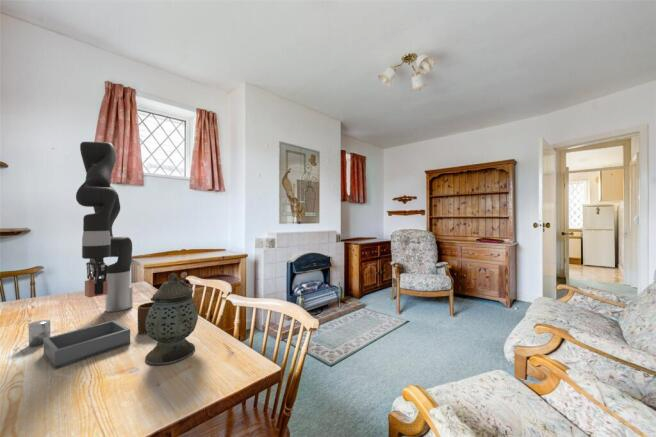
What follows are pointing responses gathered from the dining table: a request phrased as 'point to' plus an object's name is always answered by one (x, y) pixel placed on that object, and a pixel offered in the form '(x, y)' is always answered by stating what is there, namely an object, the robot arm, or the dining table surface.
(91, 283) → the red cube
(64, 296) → the dining table surface
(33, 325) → the steel cylinder
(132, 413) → the dining table surface
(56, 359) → the tote
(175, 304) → the lantern
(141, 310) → the mug
